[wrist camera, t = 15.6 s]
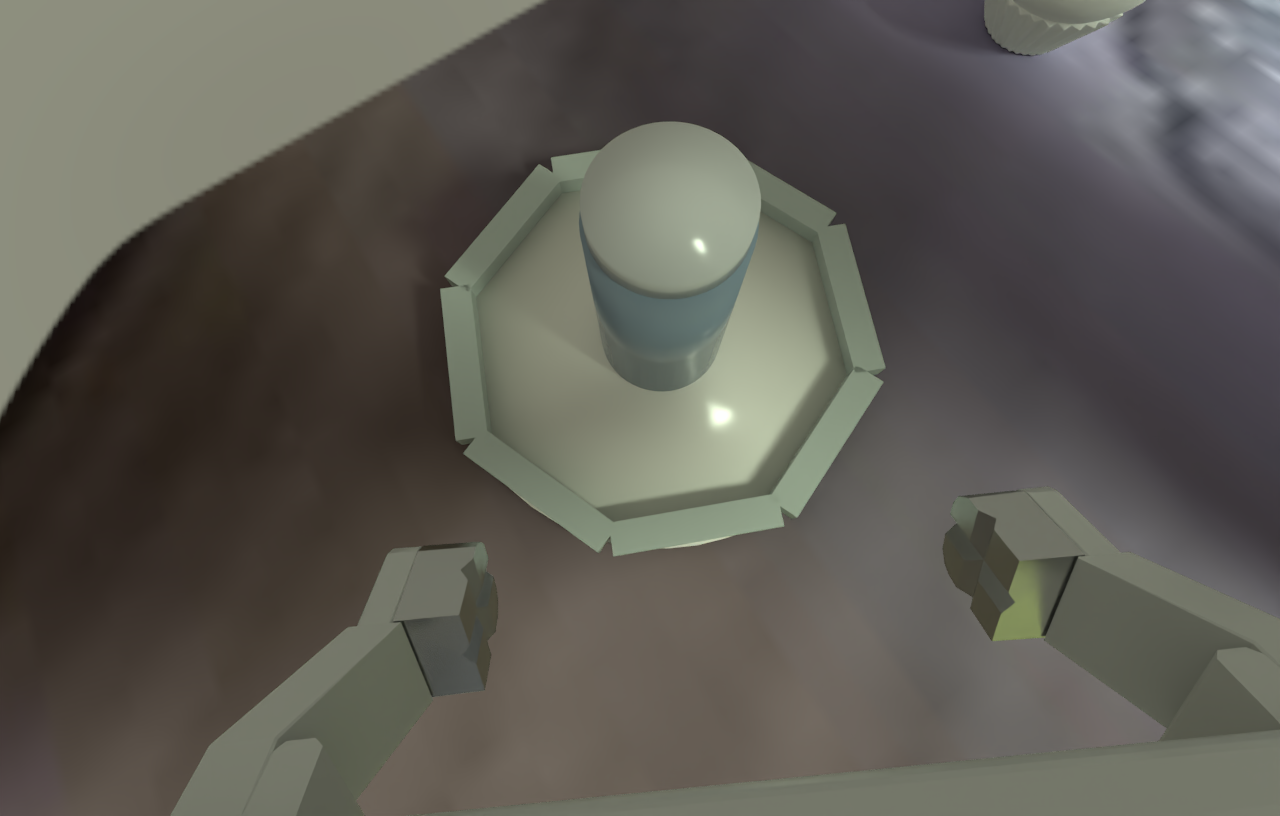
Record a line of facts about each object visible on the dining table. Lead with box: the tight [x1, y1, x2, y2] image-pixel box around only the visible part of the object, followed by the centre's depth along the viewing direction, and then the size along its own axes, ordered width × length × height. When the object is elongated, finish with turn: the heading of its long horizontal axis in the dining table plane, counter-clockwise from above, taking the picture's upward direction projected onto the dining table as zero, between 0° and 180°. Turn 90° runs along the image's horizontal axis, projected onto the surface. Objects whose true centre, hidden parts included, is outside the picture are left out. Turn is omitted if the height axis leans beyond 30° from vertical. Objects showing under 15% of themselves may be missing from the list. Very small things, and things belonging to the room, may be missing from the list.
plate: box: [440, 150, 886, 556], centre depth 21 cm, size 14×14×2 cm
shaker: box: [579, 122, 761, 391], centre depth 17 cm, size 4×4×8 cm
